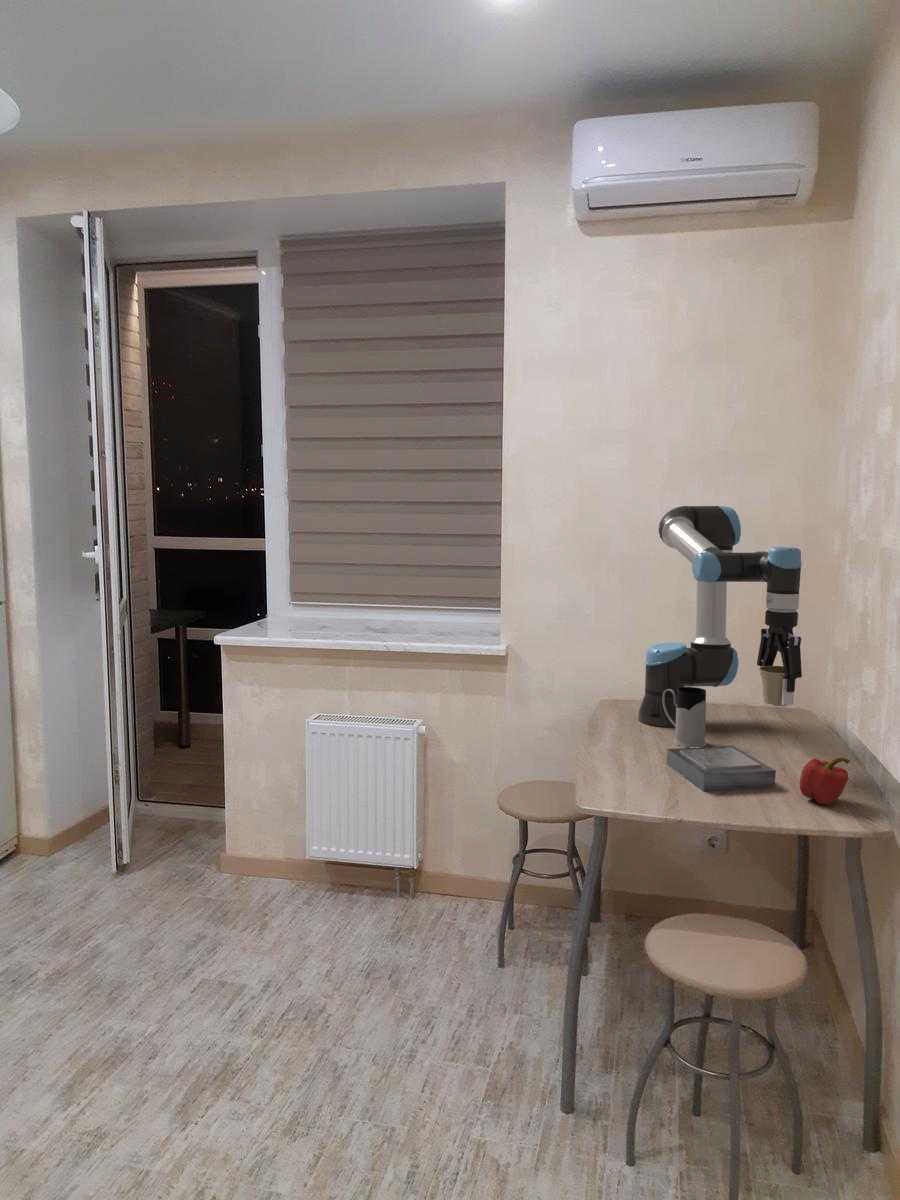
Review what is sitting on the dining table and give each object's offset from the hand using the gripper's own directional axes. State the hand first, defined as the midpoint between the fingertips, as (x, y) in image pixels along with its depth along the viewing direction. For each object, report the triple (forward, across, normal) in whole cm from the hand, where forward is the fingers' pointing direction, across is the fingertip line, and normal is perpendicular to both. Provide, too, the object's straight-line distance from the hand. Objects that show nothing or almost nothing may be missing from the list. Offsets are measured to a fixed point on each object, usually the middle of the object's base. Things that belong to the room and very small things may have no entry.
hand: (776, 699), depth 214 cm
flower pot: (+1, 0, 0) cm, 1 cm away
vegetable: (+17, +24, -2) cm, 30 cm away
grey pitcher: (+18, -25, -12) cm, 33 cm away
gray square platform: (+17, +4, -17) cm, 24 cm away
